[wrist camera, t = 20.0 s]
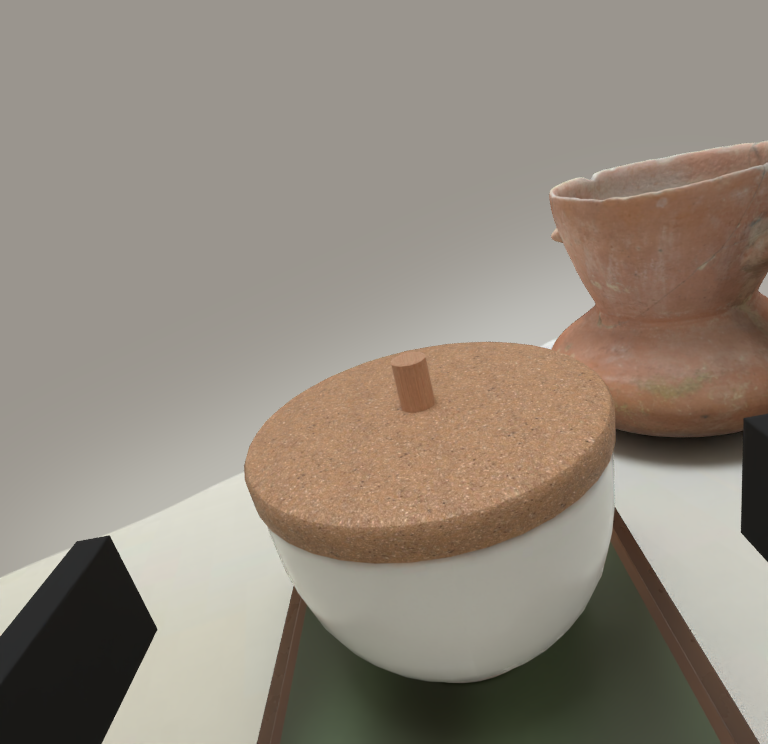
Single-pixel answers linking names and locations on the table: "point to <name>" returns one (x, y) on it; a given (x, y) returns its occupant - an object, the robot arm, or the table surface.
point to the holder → (519, 681)
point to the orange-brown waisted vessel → (673, 287)
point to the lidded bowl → (443, 504)
